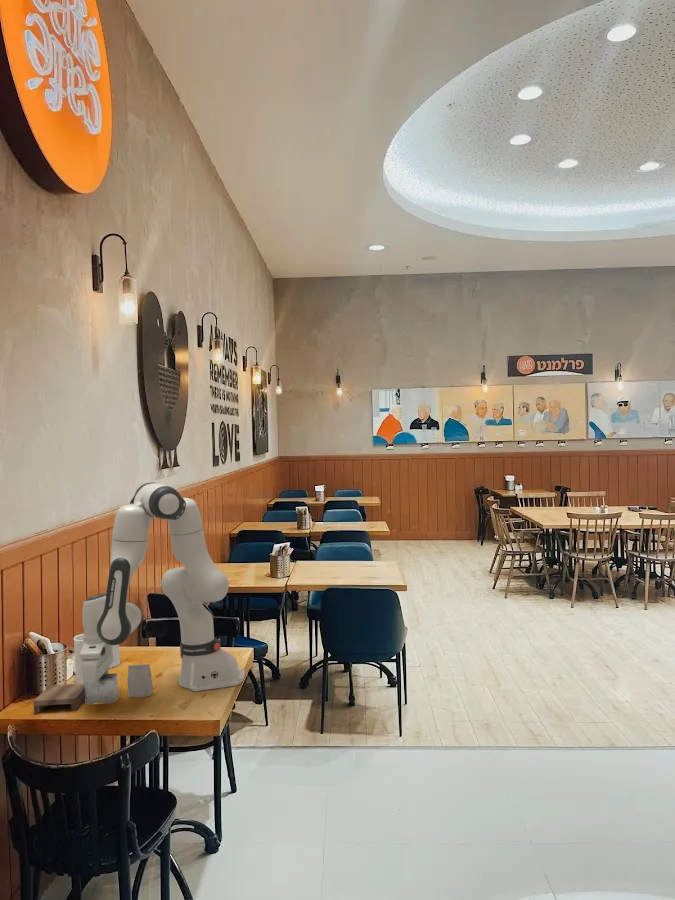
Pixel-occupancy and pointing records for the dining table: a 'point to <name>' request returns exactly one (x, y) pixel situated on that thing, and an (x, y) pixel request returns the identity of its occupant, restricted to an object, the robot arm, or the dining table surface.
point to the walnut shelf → (61, 696)
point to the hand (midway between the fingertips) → (100, 687)
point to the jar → (115, 656)
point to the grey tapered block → (139, 681)
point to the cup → (78, 658)
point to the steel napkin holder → (103, 690)
